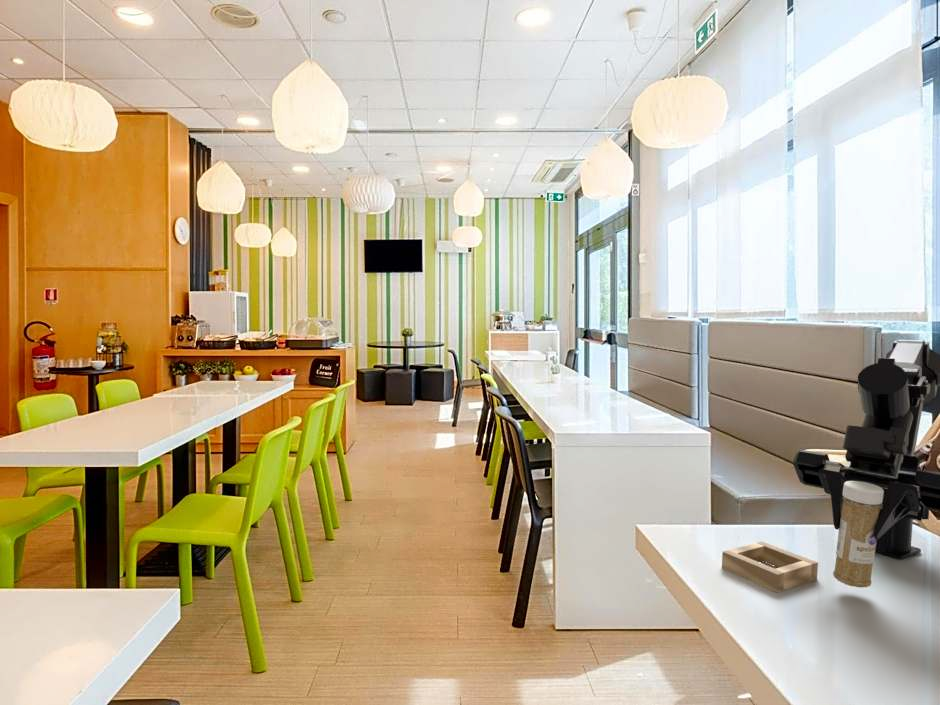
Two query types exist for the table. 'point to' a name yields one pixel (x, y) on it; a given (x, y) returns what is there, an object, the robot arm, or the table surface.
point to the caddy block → (784, 577)
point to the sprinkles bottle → (857, 533)
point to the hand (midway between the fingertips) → (855, 532)
